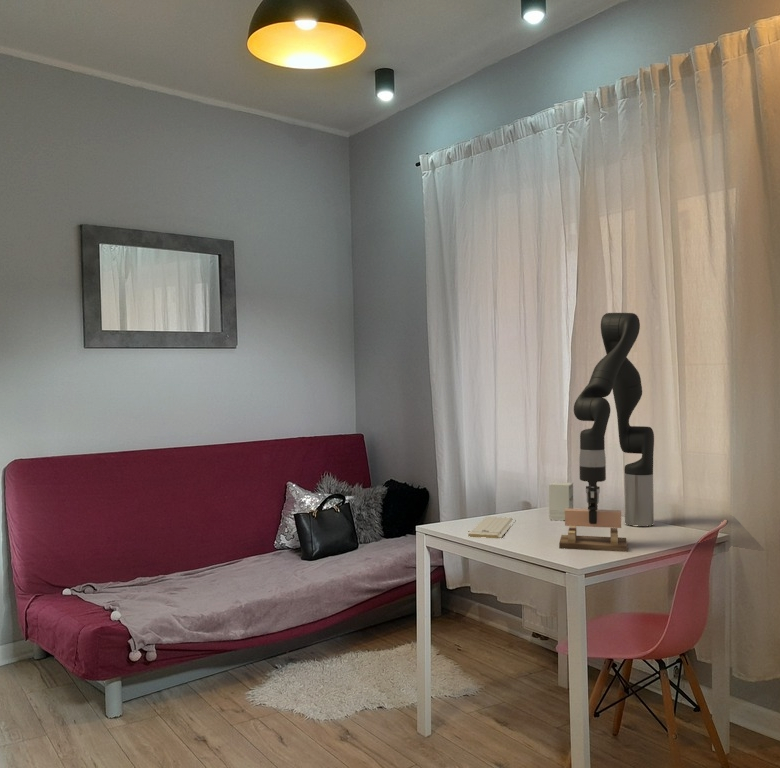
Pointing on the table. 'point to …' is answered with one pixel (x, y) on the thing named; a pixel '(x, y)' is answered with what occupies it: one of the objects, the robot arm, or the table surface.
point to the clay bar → (603, 518)
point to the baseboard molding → (491, 527)
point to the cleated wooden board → (593, 541)
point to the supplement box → (560, 499)
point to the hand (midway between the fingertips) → (593, 521)
